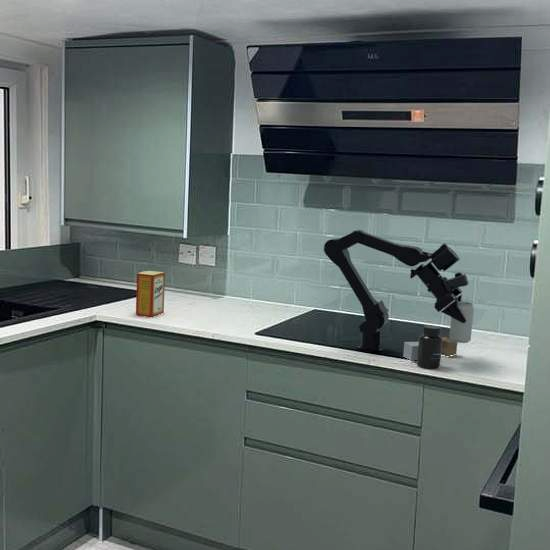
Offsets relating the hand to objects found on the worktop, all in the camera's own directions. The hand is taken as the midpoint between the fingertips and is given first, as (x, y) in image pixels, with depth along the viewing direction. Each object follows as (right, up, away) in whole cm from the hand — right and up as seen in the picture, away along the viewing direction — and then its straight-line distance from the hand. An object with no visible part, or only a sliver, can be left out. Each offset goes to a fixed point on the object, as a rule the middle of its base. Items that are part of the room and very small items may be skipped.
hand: (466, 320), depth 219 cm
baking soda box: (-105, -1, +49) cm, 116 cm away
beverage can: (-2, -7, +1) cm, 7 cm away
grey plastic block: (-15, -12, +3) cm, 20 cm away
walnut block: (-4, -12, +11) cm, 17 cm away
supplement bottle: (-13, -14, -4) cm, 19 cm away
